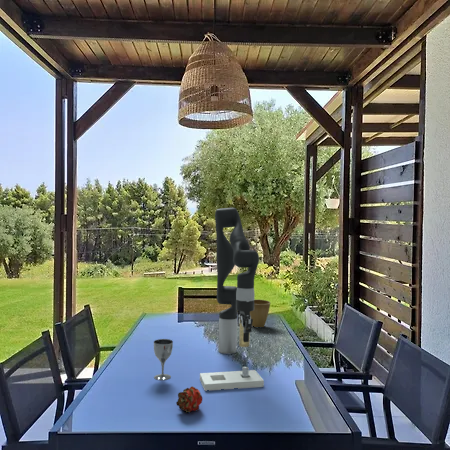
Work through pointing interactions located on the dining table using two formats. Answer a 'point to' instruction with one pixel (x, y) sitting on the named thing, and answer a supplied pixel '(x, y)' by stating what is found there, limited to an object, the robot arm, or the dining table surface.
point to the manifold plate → (230, 380)
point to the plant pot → (260, 313)
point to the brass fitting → (241, 342)
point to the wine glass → (163, 355)
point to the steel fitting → (245, 372)
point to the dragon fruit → (189, 399)
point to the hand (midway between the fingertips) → (244, 339)
